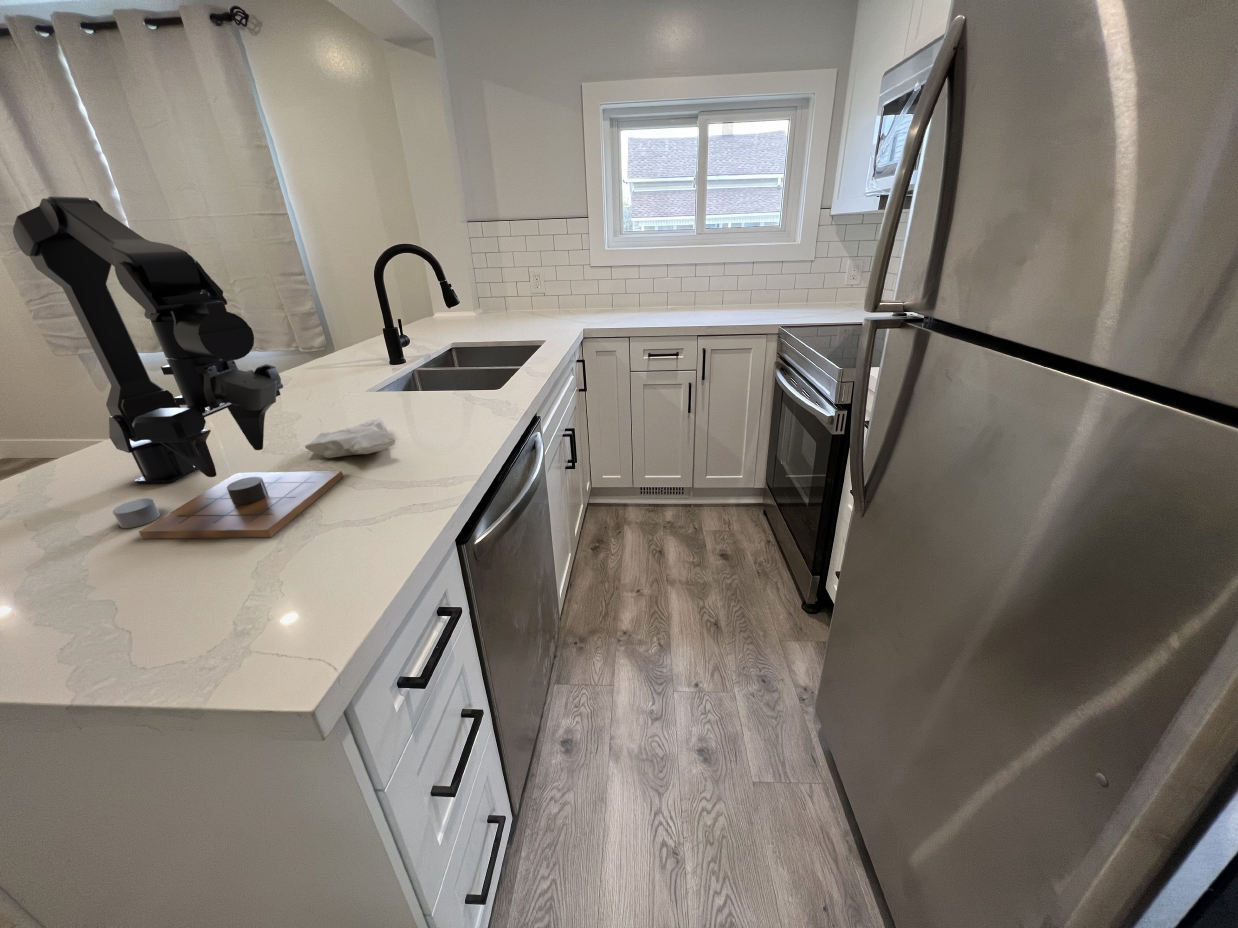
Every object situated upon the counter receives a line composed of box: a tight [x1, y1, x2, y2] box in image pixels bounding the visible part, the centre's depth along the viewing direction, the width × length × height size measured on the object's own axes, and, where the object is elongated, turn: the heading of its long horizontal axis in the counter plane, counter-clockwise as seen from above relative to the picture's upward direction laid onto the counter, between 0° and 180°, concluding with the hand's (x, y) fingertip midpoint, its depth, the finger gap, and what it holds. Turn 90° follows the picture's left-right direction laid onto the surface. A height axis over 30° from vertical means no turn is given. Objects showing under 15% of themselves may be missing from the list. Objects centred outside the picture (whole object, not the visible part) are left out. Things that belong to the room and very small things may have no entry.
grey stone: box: [112, 497, 161, 529], centre depth 71 cm, size 4×4×2 cm
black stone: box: [227, 477, 268, 505], centre depth 74 cm, size 4×4×2 cm
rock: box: [304, 417, 396, 459], centre depth 92 cm, size 21×5×15 cm
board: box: [138, 470, 344, 540], centre depth 74 cm, size 18×18×1 cm
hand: (237, 462), depth 72 cm, fingers open, 9 cm apart
